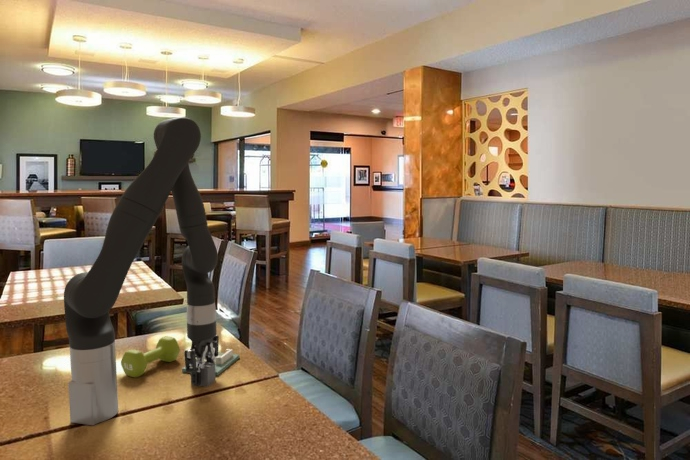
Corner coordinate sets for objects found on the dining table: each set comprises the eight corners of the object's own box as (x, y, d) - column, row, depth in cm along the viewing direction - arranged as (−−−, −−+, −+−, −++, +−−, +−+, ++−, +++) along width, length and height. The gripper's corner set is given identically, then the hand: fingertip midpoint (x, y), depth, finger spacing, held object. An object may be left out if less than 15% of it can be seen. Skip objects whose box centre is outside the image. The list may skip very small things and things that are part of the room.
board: (217, 375, 135) (217, 365, 134) (182, 372, 137) (181, 361, 137) (239, 357, 148) (239, 348, 148) (207, 354, 151) (206, 345, 150)
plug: (208, 387, 128) (207, 368, 127) (189, 384, 129) (188, 366, 128) (215, 380, 132) (215, 363, 131) (197, 378, 133) (196, 361, 132)
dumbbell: (138, 381, 132) (137, 355, 131) (118, 375, 135) (117, 350, 134) (183, 360, 146) (182, 337, 145) (163, 356, 150) (163, 333, 149)
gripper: (200, 328, 121) (202, 392, 122) (227, 313, 134) (228, 370, 136) (173, 326, 122) (175, 389, 124) (202, 311, 136) (204, 368, 138)
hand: (203, 379), depth 130 cm, fingers open, 6 cm apart
